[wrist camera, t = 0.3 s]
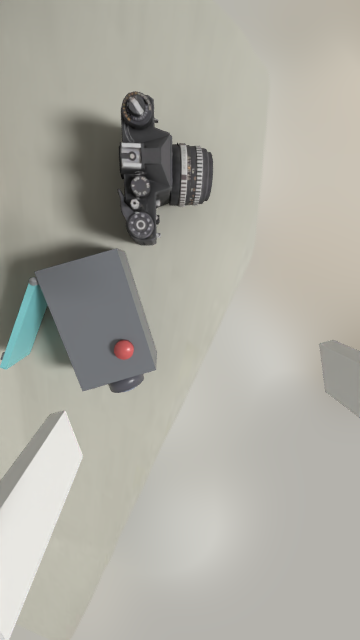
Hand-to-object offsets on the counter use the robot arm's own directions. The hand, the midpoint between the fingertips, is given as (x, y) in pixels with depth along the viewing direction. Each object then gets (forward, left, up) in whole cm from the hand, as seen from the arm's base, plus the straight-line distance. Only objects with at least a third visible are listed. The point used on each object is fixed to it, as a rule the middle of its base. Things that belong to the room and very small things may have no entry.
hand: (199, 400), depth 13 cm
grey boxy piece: (-1, -9, -27) cm, 28 cm away
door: (-5, -19, -26) cm, 33 cm away
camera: (-16, +4, -27) cm, 32 cm away
